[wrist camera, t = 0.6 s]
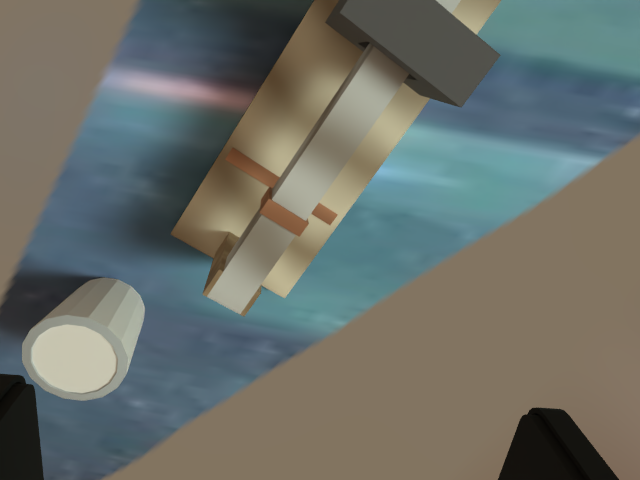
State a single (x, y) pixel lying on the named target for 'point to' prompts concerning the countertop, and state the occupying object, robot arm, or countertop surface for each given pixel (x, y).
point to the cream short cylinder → (86, 341)
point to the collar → (419, 44)
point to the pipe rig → (301, 157)
